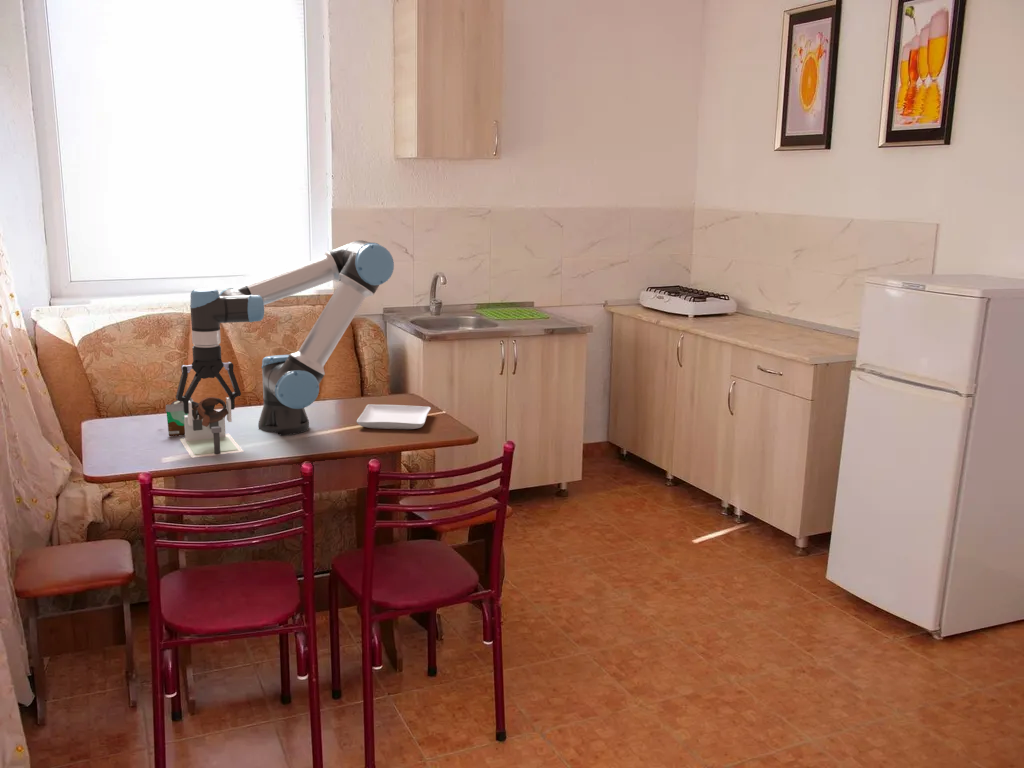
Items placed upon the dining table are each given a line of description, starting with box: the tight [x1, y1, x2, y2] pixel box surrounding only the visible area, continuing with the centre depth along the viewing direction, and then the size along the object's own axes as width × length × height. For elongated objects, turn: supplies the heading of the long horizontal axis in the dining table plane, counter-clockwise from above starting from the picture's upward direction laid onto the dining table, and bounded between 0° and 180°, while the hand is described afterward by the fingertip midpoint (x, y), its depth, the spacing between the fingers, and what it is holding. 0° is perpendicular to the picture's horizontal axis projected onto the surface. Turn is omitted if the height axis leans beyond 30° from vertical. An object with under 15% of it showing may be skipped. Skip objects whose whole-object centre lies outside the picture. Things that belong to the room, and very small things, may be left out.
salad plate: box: [356, 403, 432, 430], centre depth 297 cm, size 21×21×3 cm
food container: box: [165, 395, 194, 437], centre depth 280 cm, size 12×6×10 cm, turn 0°
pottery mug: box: [190, 396, 228, 427], centre depth 263 cm, size 12×10×8 cm
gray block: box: [211, 426, 221, 455], centre depth 257 cm, size 2×2×8 cm
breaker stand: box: [179, 415, 245, 458], centre depth 265 cm, size 14×20×8 cm
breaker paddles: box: [193, 419, 219, 431], centre depth 270 cm, size 7×1×3 cm, turn 118°
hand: (210, 422), depth 263 cm, fingers closed on pottery mug, 10 cm apart
